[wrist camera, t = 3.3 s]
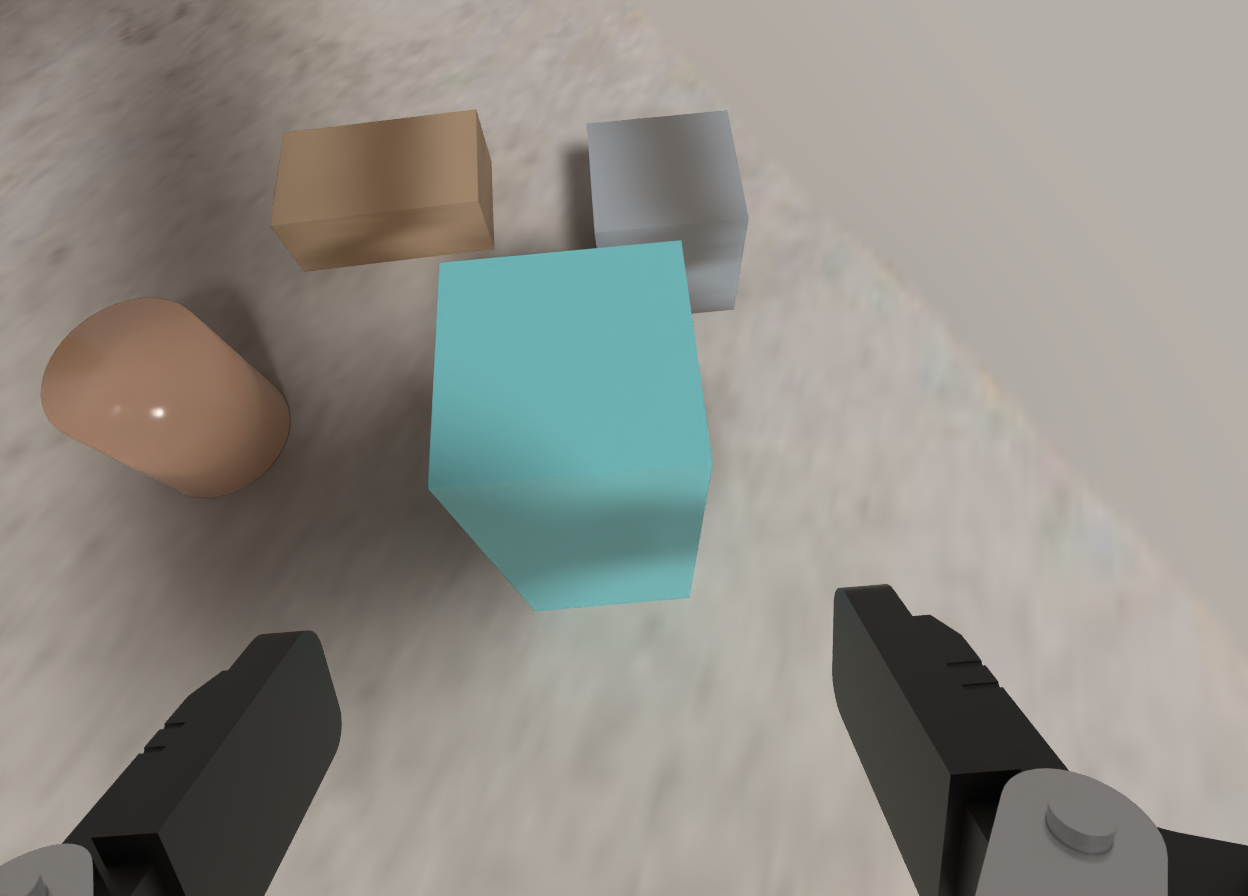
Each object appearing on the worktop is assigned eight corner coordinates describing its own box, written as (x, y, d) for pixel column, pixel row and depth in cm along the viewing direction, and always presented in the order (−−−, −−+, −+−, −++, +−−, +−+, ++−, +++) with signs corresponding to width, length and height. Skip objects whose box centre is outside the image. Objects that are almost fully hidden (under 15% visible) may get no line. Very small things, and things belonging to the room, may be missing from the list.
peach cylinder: (145, 505, 24) (23, 451, 20) (167, 383, 26) (61, 308, 22) (283, 488, 24) (193, 430, 20) (295, 367, 26) (215, 288, 21)
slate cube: (606, 322, 26) (594, 232, 22) (598, 224, 29) (586, 123, 24) (733, 310, 26) (748, 218, 22) (716, 213, 28) (727, 110, 24)
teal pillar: (534, 611, 22) (427, 488, 12) (532, 469, 24) (439, 263, 14) (689, 597, 22) (712, 463, 12) (673, 456, 24) (681, 240, 14)
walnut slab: (307, 276, 28) (269, 226, 26) (317, 188, 31) (283, 132, 28) (496, 253, 28) (478, 200, 26) (492, 166, 31) (476, 109, 28)
